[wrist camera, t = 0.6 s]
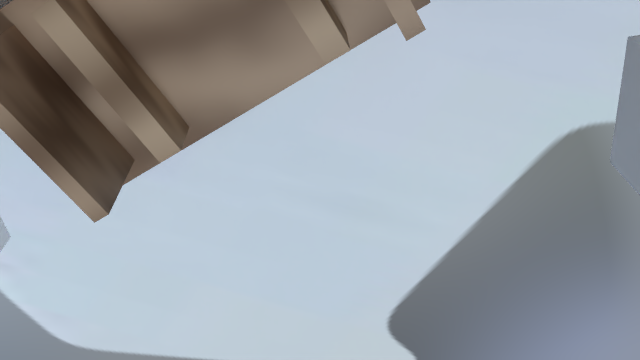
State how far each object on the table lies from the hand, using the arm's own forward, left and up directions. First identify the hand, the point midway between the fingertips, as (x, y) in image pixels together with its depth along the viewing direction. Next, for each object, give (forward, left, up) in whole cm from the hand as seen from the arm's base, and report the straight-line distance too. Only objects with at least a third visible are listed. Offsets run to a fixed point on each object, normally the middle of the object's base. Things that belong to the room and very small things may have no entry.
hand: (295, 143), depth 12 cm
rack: (0, -6, -23) cm, 24 cm away
